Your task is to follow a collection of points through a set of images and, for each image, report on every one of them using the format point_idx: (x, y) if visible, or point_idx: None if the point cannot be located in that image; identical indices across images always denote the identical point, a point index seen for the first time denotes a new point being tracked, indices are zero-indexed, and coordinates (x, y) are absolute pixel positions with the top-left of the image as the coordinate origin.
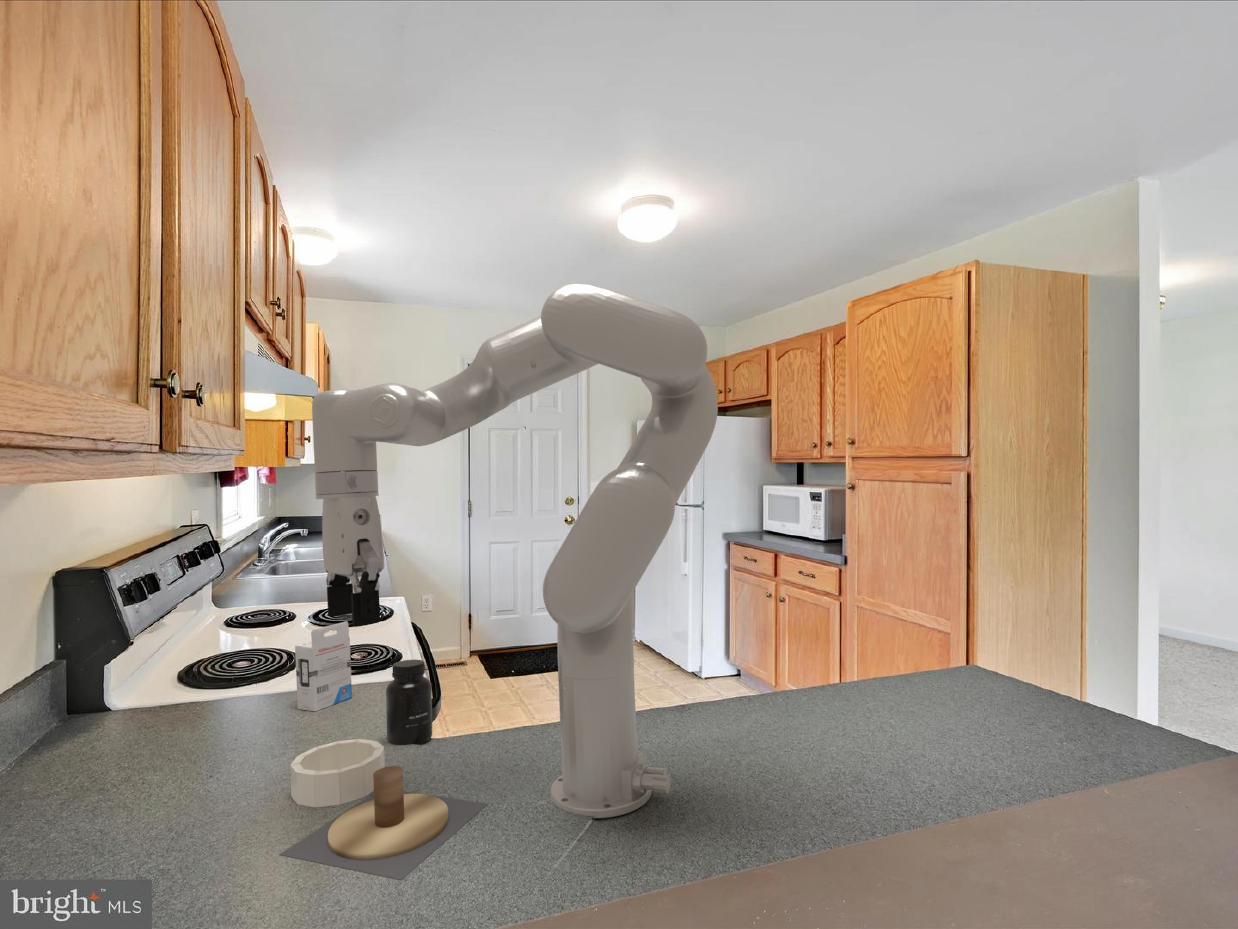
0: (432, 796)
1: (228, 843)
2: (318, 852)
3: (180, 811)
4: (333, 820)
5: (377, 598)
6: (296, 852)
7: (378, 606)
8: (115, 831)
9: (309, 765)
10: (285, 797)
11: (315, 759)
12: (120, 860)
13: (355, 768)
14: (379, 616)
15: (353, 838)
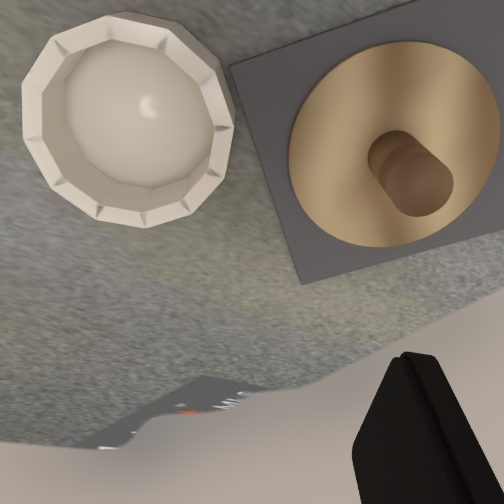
0: (396, 45)
1: (186, 300)
2: (349, 253)
3: (7, 306)
4: (275, 195)
5: (493, 498)
6: (319, 270)
7: (468, 436)
8: (14, 369)
9: (67, 158)
10: None
11: (55, 143)
12: (117, 383)
13: (230, 145)
14: (442, 376)
15: (385, 221)
